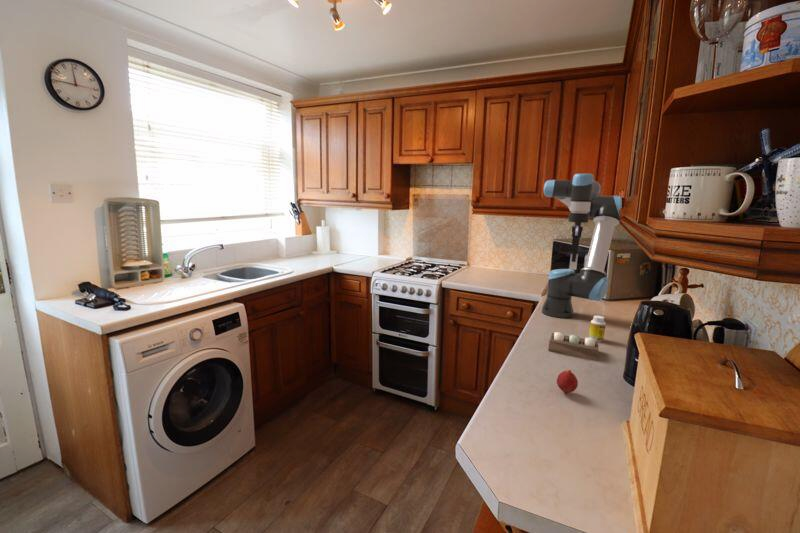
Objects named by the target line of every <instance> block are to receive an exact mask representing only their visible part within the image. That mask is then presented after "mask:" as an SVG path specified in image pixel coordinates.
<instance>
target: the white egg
mask: <svg viewBox="0 0 800 533" xmlns="http://www.w3.org/2000/svg"><path fill="white" fill-rule="evenodd" d="M584 339H585V343H584V345H587V346H592V347H595V341H596V340H595V339H594V338H590V337H589V336H587V337H585V338H584Z"/></svg>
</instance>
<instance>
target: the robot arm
mask: <svg viewBox="0 0 800 533" xmlns="http://www.w3.org/2000/svg"><path fill="white" fill-rule="evenodd" d="M594 177H595V176H594V174H592V173H575V174H574V175H573V177H572V179H549V180H546V181H545V182H544V184H543V194H544V197H547V198H555V199H557V200H558V201H560V202H561V203H563V204H564V205H565V206H567V208H568V209H569V213H568V221H567V222H570V223H574V225H572V227H571V237H572V241H571V242H572V243H571V250H570V251H569V253H568V254H570V257H569V258H570V259H569V265H568V268H558V269H551V270H550V271H549V274H548V278H547V292H546V298H545V300H544V302H543V304H542V307H541V313H542V314H544V315H546V316H550V317H553V318H558V319H559V318H561V319H568V318H573V317H574V311H575V310H574V307H573V303H572V297H574V298H579V299H583V300H589V301H596V302H599V301H602V300H603V299H604V298H605V296H606V293H607V292H608V289H609V283H610V279H609V278H608V277H607V273H606V272H605V268H606V264H607V260H608V256H609V251H610V247H611V244H612V239H613V234H614V231H615V227H616V226H618V225H619V224H620V221H621V220H620V214H619V210H620V209H621V208H622V199H621V195H600V193H601V190H602V187H601V184H600V183H599V181H597V180H595V179H594ZM590 219H593V220H592V221H593V222H594V227H593V228H594V229H593V233H592V235H591V236H592V237H591V242H590V244H589V249H588V253H587V257H586V260H585V265H584V267H583V268H581V269H580V271H579V273H576V270H577V266H578V259H579V258H578V257H579V255H580V254H581V251H579V250H580V249H579V248H580V240H581V238H582V233H583V230H584V227H583V226H582V224H584V223H585V224H586V223H589V222H590V221H589V220H590ZM619 220H620V221H619Z"/></svg>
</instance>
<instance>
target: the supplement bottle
mask: <svg viewBox="0 0 800 533" xmlns="http://www.w3.org/2000/svg"><path fill="white" fill-rule="evenodd" d="M606 324H607V322H605V317H604V316H602V315H593V318H592V320H590V324H589V325H590V327H589V332H588V333H589V334H588V337H590V338H594V339H595V340H596V341H599V343H602V342H603V341H604V339H605V331H606Z"/></svg>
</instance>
